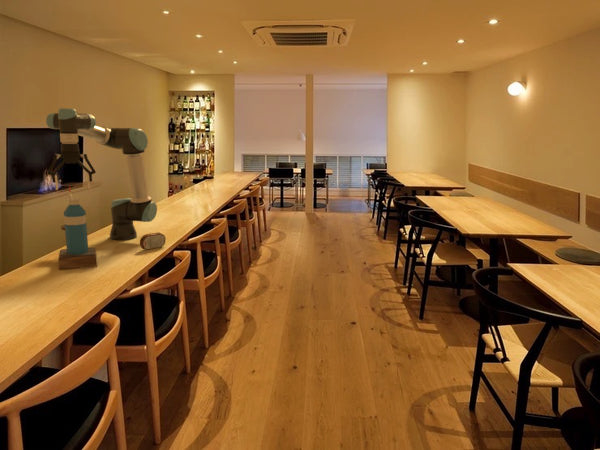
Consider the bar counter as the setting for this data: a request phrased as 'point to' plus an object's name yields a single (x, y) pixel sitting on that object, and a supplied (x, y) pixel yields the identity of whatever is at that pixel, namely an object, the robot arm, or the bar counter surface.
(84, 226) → the water bottle
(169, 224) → the bar counter surface
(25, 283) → the bar counter surface
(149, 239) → the tin
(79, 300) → the bar counter surface
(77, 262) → the stand
